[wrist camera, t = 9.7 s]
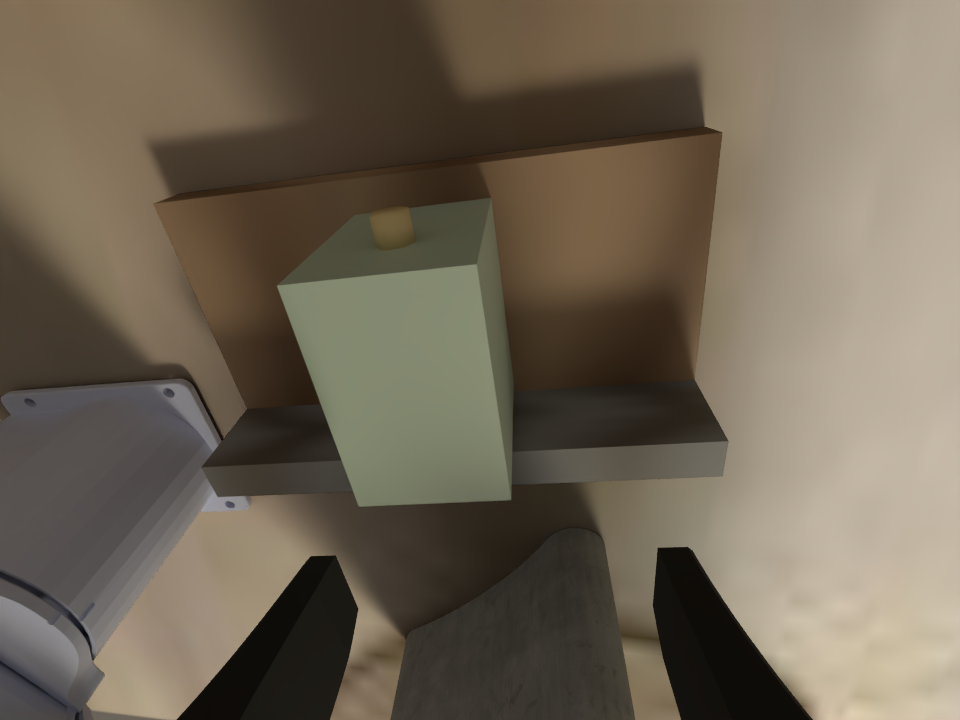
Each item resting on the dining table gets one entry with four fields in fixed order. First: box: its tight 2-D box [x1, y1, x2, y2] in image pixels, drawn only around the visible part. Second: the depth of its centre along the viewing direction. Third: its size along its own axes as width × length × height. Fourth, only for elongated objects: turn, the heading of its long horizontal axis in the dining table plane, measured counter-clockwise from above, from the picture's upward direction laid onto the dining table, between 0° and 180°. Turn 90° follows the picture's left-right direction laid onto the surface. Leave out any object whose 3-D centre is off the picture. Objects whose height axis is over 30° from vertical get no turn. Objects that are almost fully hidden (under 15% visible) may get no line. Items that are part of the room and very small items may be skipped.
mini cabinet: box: [277, 198, 514, 507], centre depth 15 cm, size 4×8×6 cm, turn 8°
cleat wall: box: [154, 127, 728, 497], centre depth 17 cm, size 18×10×5 cm, turn 98°
